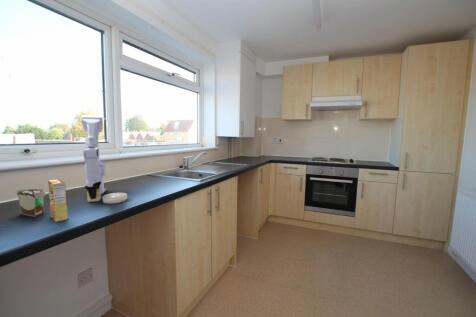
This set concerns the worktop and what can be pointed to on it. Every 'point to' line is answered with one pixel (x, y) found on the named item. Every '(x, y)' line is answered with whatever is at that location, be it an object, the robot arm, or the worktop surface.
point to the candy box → (58, 200)
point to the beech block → (98, 196)
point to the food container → (31, 201)
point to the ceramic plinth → (114, 198)
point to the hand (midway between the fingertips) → (94, 197)
